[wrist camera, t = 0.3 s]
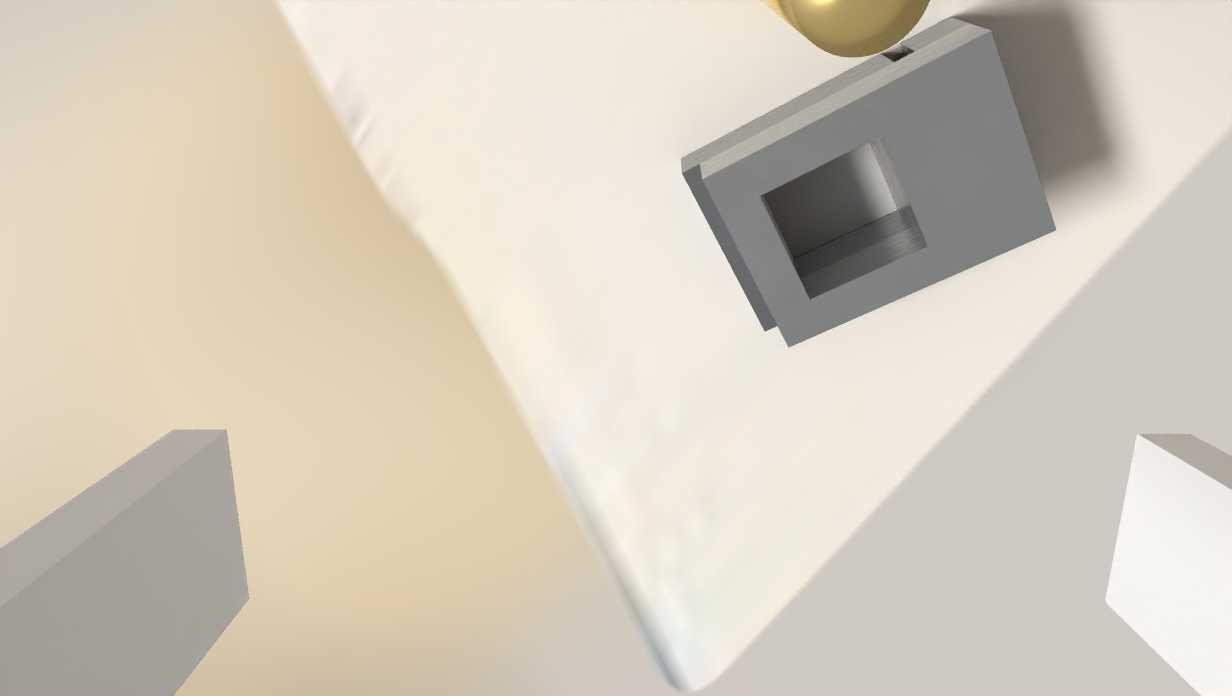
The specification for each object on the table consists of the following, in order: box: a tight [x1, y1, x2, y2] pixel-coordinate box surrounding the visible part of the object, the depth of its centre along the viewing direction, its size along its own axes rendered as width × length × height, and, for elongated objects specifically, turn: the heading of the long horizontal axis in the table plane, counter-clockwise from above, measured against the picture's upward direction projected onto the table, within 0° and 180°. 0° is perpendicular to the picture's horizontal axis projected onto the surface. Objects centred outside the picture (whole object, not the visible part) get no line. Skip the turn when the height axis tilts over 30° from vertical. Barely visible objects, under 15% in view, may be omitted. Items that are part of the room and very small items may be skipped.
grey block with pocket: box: [681, 17, 1056, 347], centre depth 32 cm, size 12×8×4 cm
